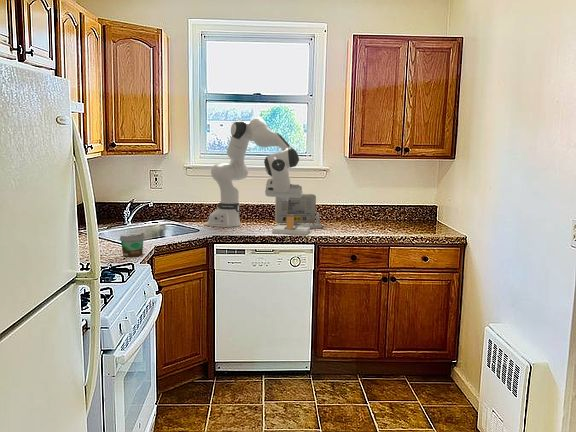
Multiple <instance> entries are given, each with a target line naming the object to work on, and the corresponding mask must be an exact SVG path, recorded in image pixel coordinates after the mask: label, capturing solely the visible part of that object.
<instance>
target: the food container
mask: <svg viewBox="0 0 576 432" xmlns="http://www.w3.org/2000/svg"><path fill="white" fill-rule="evenodd" d="M145 239H146V237H145V233H143V232H141V234H131V235H128V236H127V235H125V236H124V235H120V237H119V241H121V242H120V244H121V252H122V257H123V258H139V257H142V256H143V251H144V250H143V249H144V240H145Z"/></svg>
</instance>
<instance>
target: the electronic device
mask: <svg viewBox="0 0 576 432" xmlns="http://www.w3.org/2000/svg"><path fill="white" fill-rule="evenodd" d="M320 219H321V217H320V212H319V211H318V212H316V216H315V222H314V223H307V224H300V225H299V226H302V227H310V230H311V229H321V228H323V223H321V221H320Z"/></svg>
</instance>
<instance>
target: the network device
mask: <svg viewBox="0 0 576 432" xmlns="http://www.w3.org/2000/svg"><path fill="white" fill-rule="evenodd" d="M316 203H317V196H316V195H315V194H313V193H303V194H302V197H301V198H290V197H289V199H288V201H282V199H281V198H280V197H275V202H274V204H275V206H274V207H275V208H274V209H275V211H274V215H275V216H274V222H275V223H277V224H279V225H284V226H287V214H294V226H296V225H298V226H299V225H300V224H312V223H316V213H317V212H316V206H317V205H316Z"/></svg>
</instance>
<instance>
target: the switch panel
mask: <svg viewBox="0 0 576 432" xmlns="http://www.w3.org/2000/svg"><path fill="white" fill-rule="evenodd" d="M271 230H272V231H271V232H272V234H281V235H295V236H298V235H299V236H300V235H301V236H306V235H308V233H309V232H310V231H311V229H310V227H302V226H298V225H296V226H294V228H293V229H287V225H280V224H277V225H276V226H274V227H273V228H272V229H271Z"/></svg>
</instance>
